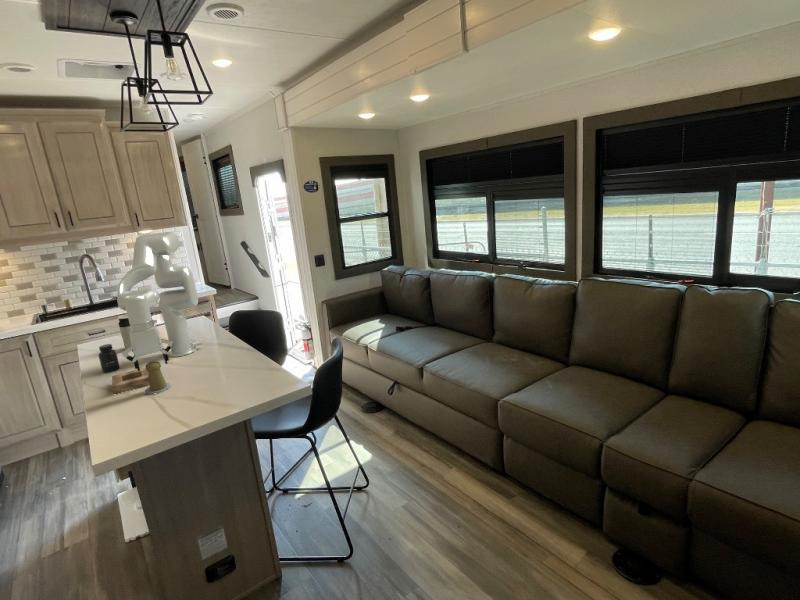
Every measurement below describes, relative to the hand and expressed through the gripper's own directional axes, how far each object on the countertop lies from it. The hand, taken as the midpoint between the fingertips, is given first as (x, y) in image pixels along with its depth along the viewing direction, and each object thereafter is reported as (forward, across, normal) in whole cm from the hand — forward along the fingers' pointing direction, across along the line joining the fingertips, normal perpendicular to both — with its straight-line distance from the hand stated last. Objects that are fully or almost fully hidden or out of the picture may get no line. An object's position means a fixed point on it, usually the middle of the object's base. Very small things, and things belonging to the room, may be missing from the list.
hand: (152, 366), depth 169 cm
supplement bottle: (+11, +16, -40) cm, 45 cm away
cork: (+9, 0, +1) cm, 9 cm away
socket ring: (+10, +8, -13) cm, 18 cm away
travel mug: (+12, +6, -68) cm, 69 cm away
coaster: (+10, 0, +1) cm, 10 cm away
